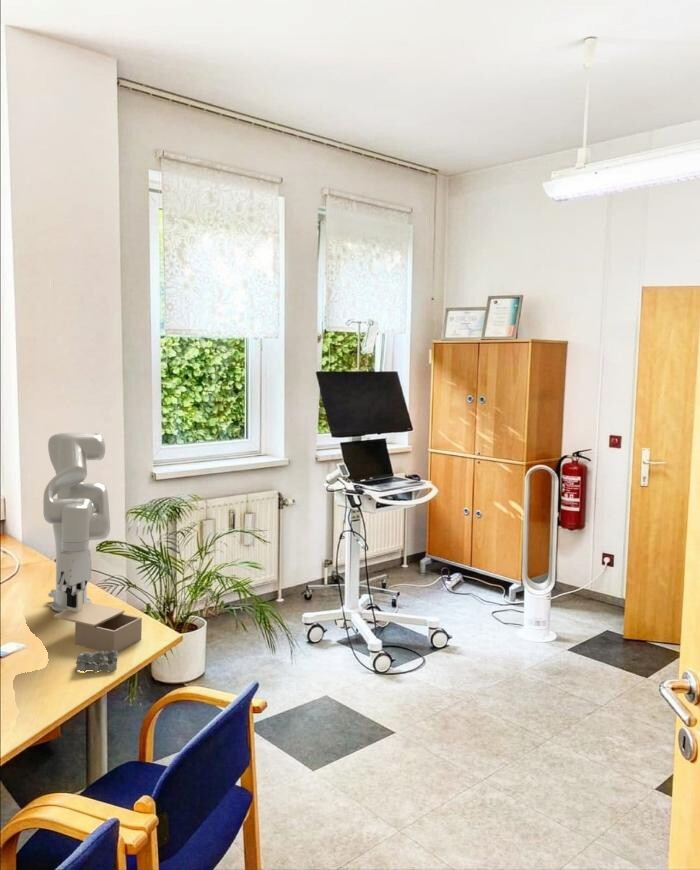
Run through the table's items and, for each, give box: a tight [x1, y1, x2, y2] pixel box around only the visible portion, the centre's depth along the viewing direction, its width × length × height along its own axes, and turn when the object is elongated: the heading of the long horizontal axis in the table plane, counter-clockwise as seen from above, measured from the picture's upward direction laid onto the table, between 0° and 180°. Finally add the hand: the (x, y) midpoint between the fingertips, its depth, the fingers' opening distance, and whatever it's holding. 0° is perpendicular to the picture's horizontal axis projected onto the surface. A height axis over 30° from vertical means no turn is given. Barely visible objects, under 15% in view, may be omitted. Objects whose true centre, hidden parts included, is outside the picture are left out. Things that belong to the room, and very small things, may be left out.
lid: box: [53, 589, 125, 627], centre depth 210 cm, size 15×13×7 cm
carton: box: [74, 613, 143, 652], centre depth 208 cm, size 14×12×7 cm
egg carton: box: [75, 649, 119, 673], centre depth 192 cm, size 11×8×4 cm
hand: (75, 604), depth 212 cm, fingers closed on lid, 2 cm apart
